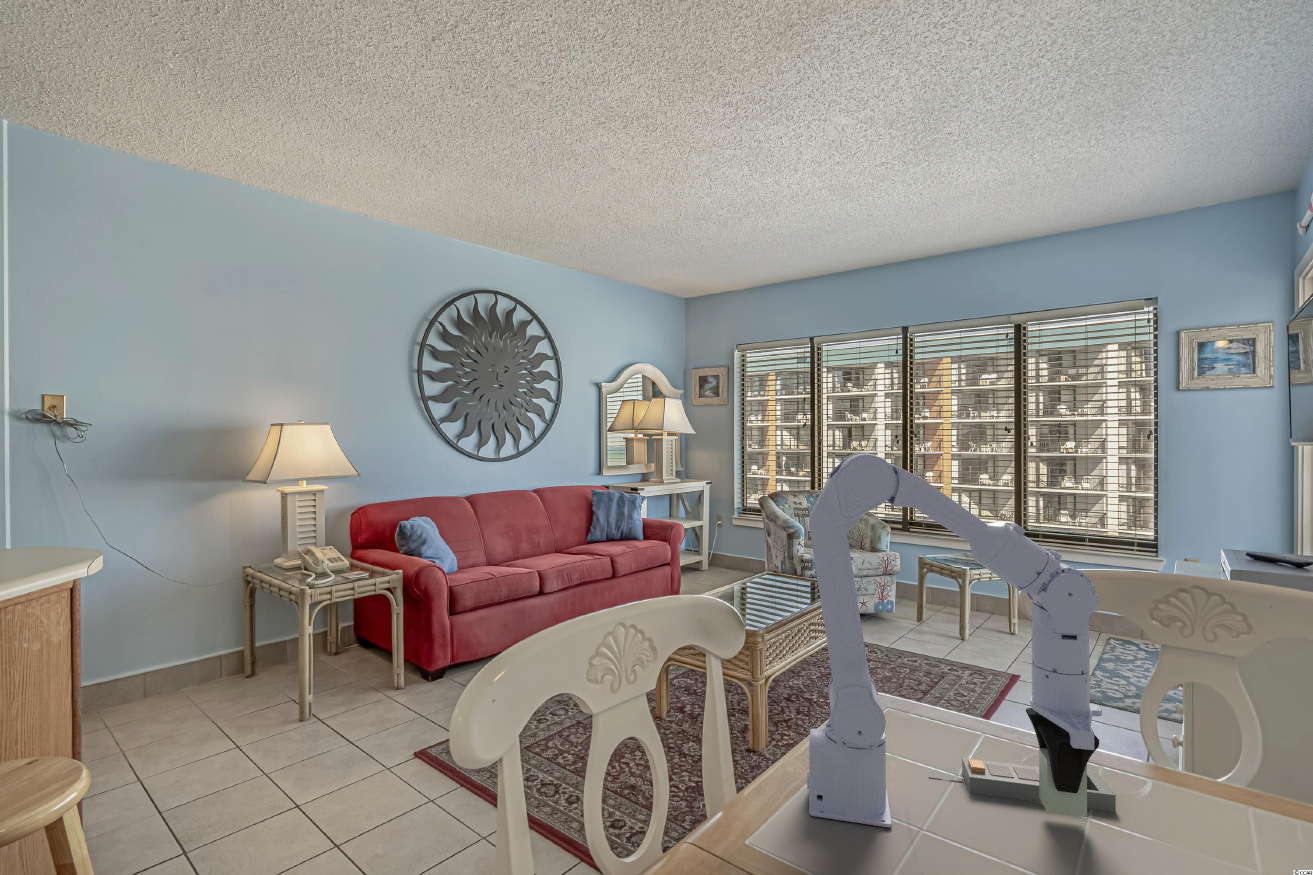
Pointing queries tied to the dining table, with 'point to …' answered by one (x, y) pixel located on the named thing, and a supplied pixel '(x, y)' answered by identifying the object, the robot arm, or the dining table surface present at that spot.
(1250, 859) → the dining table surface
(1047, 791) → the charger
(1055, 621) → the robot arm
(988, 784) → the power strip
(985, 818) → the dining table surface
